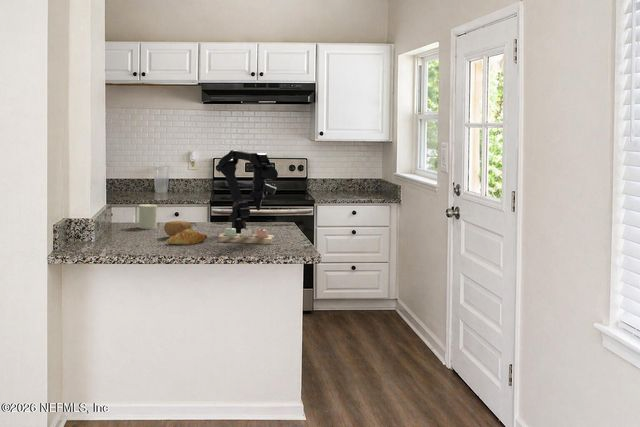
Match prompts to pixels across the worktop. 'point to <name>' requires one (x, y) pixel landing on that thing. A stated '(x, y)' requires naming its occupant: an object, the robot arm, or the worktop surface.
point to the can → (147, 216)
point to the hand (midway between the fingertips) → (258, 210)
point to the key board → (245, 239)
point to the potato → (176, 227)
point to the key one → (230, 232)
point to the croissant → (187, 237)
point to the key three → (261, 233)
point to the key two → (246, 232)
